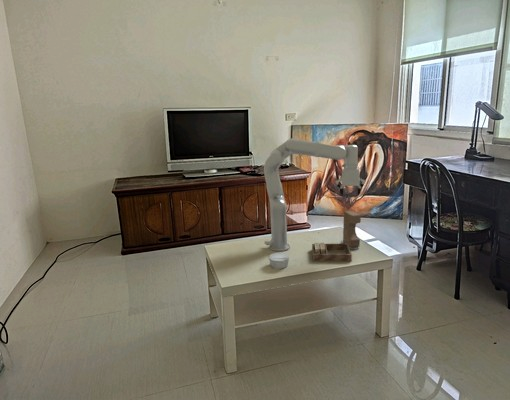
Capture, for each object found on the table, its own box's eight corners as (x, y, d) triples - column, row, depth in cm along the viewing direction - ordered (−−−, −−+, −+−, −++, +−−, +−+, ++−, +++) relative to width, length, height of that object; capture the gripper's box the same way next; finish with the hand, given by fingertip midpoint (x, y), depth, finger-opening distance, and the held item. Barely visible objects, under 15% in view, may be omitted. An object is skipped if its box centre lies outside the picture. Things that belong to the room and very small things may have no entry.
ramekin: (277, 271, 190) (277, 262, 189) (265, 265, 199) (264, 256, 198) (293, 265, 196) (293, 256, 195) (280, 259, 205) (280, 251, 204)
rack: (313, 261, 201) (313, 254, 200) (312, 249, 217) (312, 243, 216) (351, 261, 198) (351, 254, 197) (347, 249, 214) (347, 243, 213)
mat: (343, 249, 216) (343, 248, 216) (340, 241, 228) (340, 240, 228) (358, 249, 215) (358, 248, 215) (355, 241, 227) (355, 240, 227)
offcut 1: (315, 259, 204) (315, 249, 202) (314, 252, 213) (314, 242, 212) (319, 259, 204) (319, 249, 202) (318, 252, 213) (318, 242, 212)
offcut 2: (320, 259, 203) (320, 249, 202) (319, 252, 213) (319, 242, 212) (325, 259, 203) (325, 249, 202) (323, 252, 213) (323, 242, 211)
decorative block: (359, 246, 216) (361, 215, 212) (351, 247, 215) (352, 215, 210) (350, 240, 227) (352, 210, 222) (342, 241, 226) (343, 211, 221)
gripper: (336, 167, 207) (335, 196, 211) (367, 167, 205) (366, 196, 209) (334, 165, 214) (334, 193, 218) (364, 165, 212) (363, 193, 216)
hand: (350, 194), depth 214 cm, fingers open, 9 cm apart
